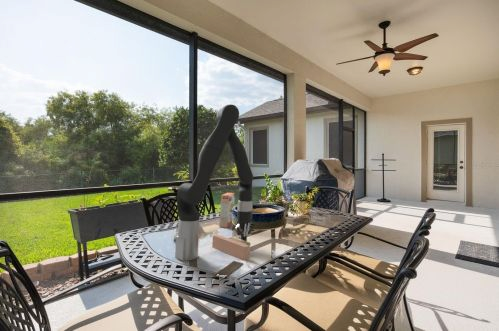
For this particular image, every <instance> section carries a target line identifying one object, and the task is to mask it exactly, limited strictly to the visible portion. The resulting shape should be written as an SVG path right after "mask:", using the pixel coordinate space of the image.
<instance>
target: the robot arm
mask: <svg viewBox="0 0 499 331" xmlns="http://www.w3.org/2000/svg"><path fill="white" fill-rule="evenodd" d="M239 119H240V110H239V109H238V107H237V106H236V105H235V104H232V103H231V104H227V105H224V106H223V107H221V108H220V109H218V111H217V112H216V120H217V125H216V127H215V128H214V129H213V131H212V133H210V135H209V136H208V137H207V139H206V141H205V142H204V143H203V145H202V148H201V150H200V152H199V155H198V169H197V173H196V176H195V178H194V180H193V182H192V183H191V182H183V183H182V184H181V185H180V186H179V188H178V189H177V197H176V201H177V202H176V209H177V211H176V212H177V214H178V223H177V224H178V227H177V232H178V236H176V243H175V247H174V248H175V249H174V250H175V252H174V254H175V255H174V258H177V259H178V260H180V261H182V262H185V261H193V260H196V259H198V256H199V241H200V240H199V239H200V222H201V221H200V218H201V217H200V216H201V214H200V212H199V211H198V209H197V207H196V206H198V205H200V204H201V203H202V202H203V200H204V198H205V197H206V196H205V195H206V193H207V190H208V186H209V184H210V182H211V178H212V176H213V174H214V171H215V169H216V167H217V164H218V162H219V161H220V158H221V156H222V153H223V151H224V148H225V146H226V144H228V145H227V146H228V147H229V150H230V153H231V156H232V159H233V163H234V165H235V168H236V172H237V175H238V196H237V199H238V200H237V207H236V208H237V210H236V218H237V225H236V226H233V229H234V231H235V232H236V234H237V236H239V237H240V239H241V240H244V241H247V242H248V240H247V239H248V236H249V235H251V232H252V230H253V228H254V227H255V223H253V222H252V219H253V180H254V174H253V172H252V169H251V165H250V163H249V159H248V158H249V157H248V155H247V152H246V149H245V146H244V145H243V143H242V141H241V140H240V138H239V136H238V135H237V133H236V130H235V126H236V124H237V122H238V121H239Z"/></svg>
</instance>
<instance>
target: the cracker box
mask: <svg viewBox="0 0 499 331" xmlns="http://www.w3.org/2000/svg"><path fill="white" fill-rule="evenodd" d="M235 196H236V193H235V192H226V193H223V194H221V198H220V208H219V209H220V213H219V225H218V226H219V228H226V229H228V228H229V227H230V226H231V225H232V224H233V223H232V215H231V210H232V208H233V207H234V208H235Z"/></svg>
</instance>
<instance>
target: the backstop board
mask: <svg viewBox="0 0 499 331" xmlns="http://www.w3.org/2000/svg"><path fill="white" fill-rule="evenodd" d="M229 238H230V237H225V236H224V235H220V234H213V235H212V243H211V244H212V245H211V246H212V249H213V248H214V249H216V250H218V251H220V252H224V253H225V254H228V255H231V256H233V257H235V258H238V259H240V260H241V261H242V260H243V261H246V260H249V256H250V255H249V254H250V253H249V245H246V244H243V243H240V242H237V241H235V240H232V239H229Z"/></svg>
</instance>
